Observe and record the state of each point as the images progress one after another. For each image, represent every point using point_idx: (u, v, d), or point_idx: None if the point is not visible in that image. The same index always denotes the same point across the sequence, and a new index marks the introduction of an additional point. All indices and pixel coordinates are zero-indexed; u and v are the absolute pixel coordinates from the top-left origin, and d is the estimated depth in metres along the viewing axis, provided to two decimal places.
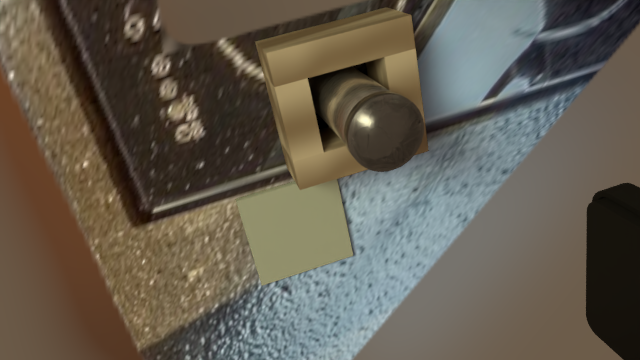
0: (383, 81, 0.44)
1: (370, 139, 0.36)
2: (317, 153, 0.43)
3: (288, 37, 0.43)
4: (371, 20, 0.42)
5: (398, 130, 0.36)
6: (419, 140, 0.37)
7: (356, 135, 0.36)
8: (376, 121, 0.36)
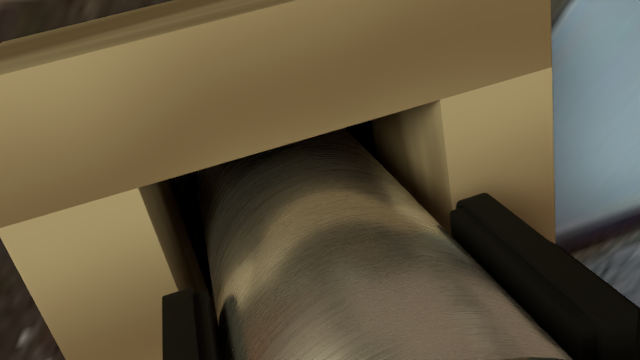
0: (427, 174, 0.13)
1: None
2: None
3: (95, 27, 0.12)
4: None
5: None
6: None
7: None
8: None
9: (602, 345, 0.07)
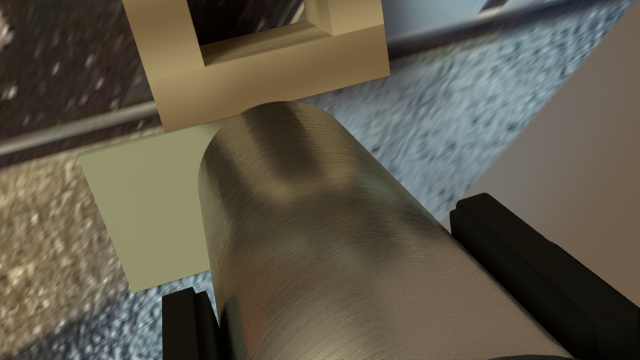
0: None
1: None
2: (193, 68, 0.25)
3: None
4: None
5: None
6: None
7: None
8: None
9: (602, 345, 0.07)
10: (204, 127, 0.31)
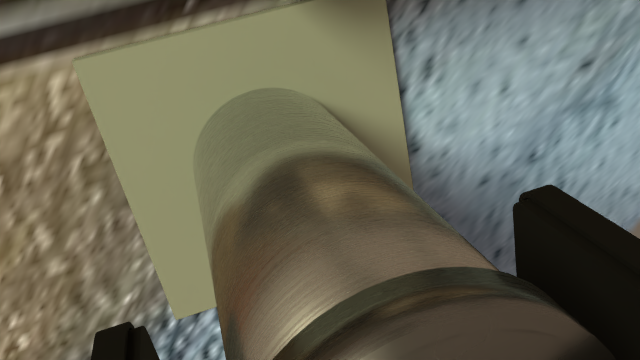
0: None
1: None
2: None
3: None
4: None
5: None
6: None
7: None
8: None
9: None
10: (310, 8, 0.16)
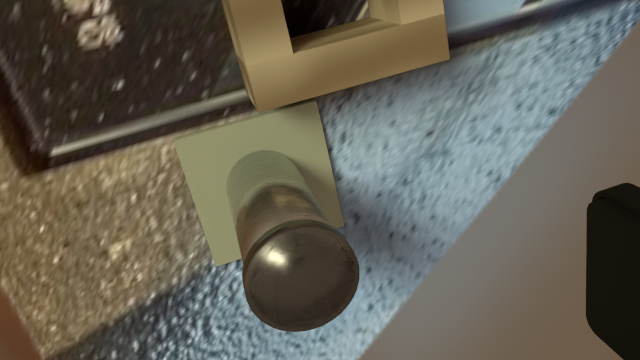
0: None
1: (279, 290, 0.25)
2: (283, 54, 0.29)
3: None
4: None
5: (320, 275, 0.25)
6: (352, 287, 0.26)
7: (257, 286, 0.24)
8: (286, 265, 0.24)
9: None
10: (281, 113, 0.35)
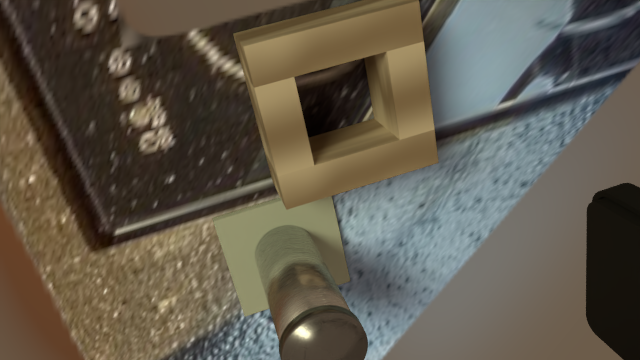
0: (385, 80, 0.37)
1: (307, 359, 0.33)
2: (306, 166, 0.36)
3: (272, 28, 0.36)
4: (371, 7, 0.35)
5: (338, 347, 0.33)
6: (362, 354, 0.34)
7: (291, 356, 0.32)
8: (313, 341, 0.32)
9: None
10: None
